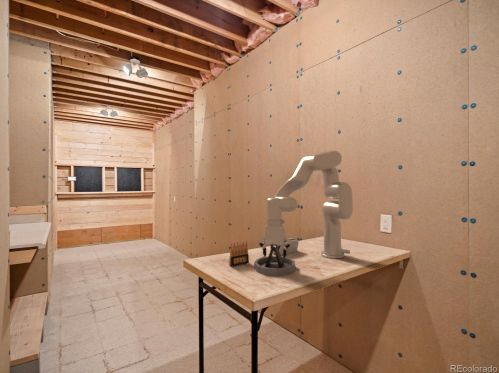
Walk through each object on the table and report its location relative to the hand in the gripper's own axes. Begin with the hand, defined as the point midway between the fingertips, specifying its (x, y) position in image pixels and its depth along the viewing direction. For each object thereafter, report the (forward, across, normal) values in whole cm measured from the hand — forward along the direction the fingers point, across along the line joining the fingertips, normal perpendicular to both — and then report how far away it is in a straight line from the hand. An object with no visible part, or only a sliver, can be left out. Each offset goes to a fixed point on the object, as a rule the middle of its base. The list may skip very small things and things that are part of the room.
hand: (274, 256), depth 127 cm
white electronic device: (+6, -4, -28) cm, 29 cm away
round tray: (+6, 0, 0) cm, 6 cm away
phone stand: (+5, 0, 0) cm, 5 cm away
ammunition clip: (+6, +19, -2) cm, 20 cm away
